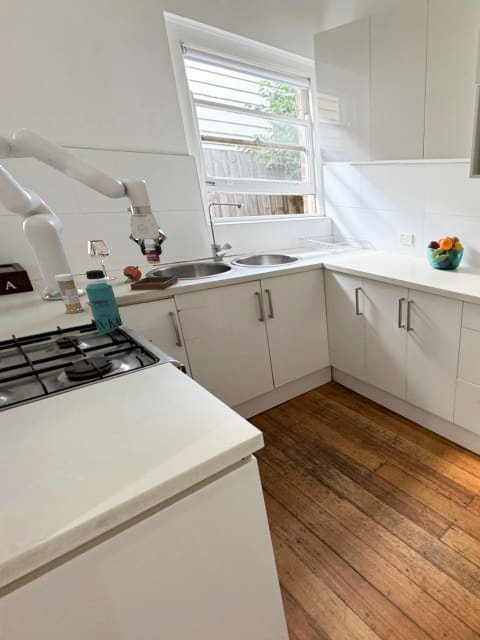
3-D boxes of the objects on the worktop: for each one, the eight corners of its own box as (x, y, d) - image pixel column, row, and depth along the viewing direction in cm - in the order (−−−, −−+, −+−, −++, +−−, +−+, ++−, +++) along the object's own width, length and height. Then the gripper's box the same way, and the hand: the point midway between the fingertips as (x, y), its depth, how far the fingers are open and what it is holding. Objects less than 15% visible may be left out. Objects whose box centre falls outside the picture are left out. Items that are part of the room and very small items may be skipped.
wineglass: (99, 281, 179) (87, 242, 172) (93, 279, 183) (82, 241, 176) (119, 278, 185) (109, 241, 178) (113, 276, 189) (103, 239, 183)
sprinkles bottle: (65, 311, 137) (53, 274, 132) (81, 308, 141) (70, 272, 136) (68, 314, 135) (56, 276, 130) (85, 311, 138) (73, 274, 133)
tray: (164, 289, 169) (163, 283, 168) (131, 290, 166) (130, 284, 165) (177, 281, 182) (176, 276, 181) (147, 282, 180) (146, 276, 179)
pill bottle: (146, 264, 165) (141, 244, 162) (150, 262, 169) (145, 243, 166) (158, 263, 166) (154, 244, 163) (162, 261, 171) (157, 242, 168)
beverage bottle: (97, 334, 117) (77, 270, 110) (123, 329, 122) (106, 267, 114) (101, 340, 113) (80, 274, 106) (127, 335, 118) (109, 271, 110)
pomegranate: (135, 287, 179) (149, 271, 184) (120, 276, 174) (135, 260, 178) (128, 286, 183) (142, 271, 187) (113, 276, 178) (128, 260, 182)
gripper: (114, 211, 155) (126, 256, 162) (160, 211, 158) (170, 256, 165) (124, 210, 162) (135, 253, 169) (167, 210, 165) (177, 253, 171)
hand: (152, 254), depth 167 cm, fingers closed on pill bottle, 4 cm apart
